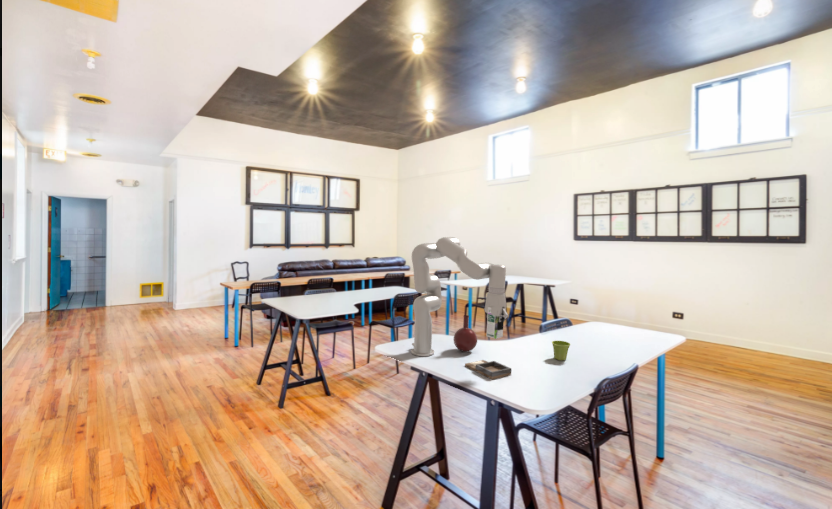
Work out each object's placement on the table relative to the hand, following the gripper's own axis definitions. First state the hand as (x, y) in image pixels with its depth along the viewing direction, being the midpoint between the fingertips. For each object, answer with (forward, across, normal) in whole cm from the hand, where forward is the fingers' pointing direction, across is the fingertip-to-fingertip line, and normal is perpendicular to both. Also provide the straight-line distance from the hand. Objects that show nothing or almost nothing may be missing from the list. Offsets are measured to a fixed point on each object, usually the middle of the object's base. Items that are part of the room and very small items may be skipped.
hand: (495, 327), depth 202 cm
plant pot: (+22, +1, +47) cm, 52 cm away
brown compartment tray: (+22, -4, 0) cm, 23 cm away
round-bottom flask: (+23, -33, +9) cm, 41 cm away
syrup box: (+5, 0, 0) cm, 5 cm away
